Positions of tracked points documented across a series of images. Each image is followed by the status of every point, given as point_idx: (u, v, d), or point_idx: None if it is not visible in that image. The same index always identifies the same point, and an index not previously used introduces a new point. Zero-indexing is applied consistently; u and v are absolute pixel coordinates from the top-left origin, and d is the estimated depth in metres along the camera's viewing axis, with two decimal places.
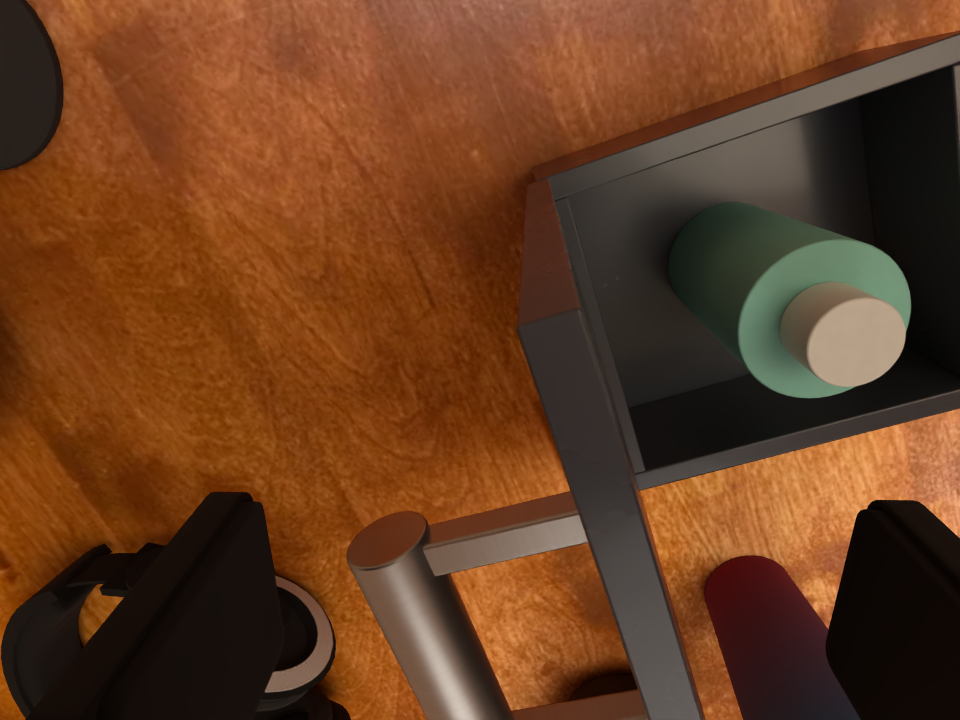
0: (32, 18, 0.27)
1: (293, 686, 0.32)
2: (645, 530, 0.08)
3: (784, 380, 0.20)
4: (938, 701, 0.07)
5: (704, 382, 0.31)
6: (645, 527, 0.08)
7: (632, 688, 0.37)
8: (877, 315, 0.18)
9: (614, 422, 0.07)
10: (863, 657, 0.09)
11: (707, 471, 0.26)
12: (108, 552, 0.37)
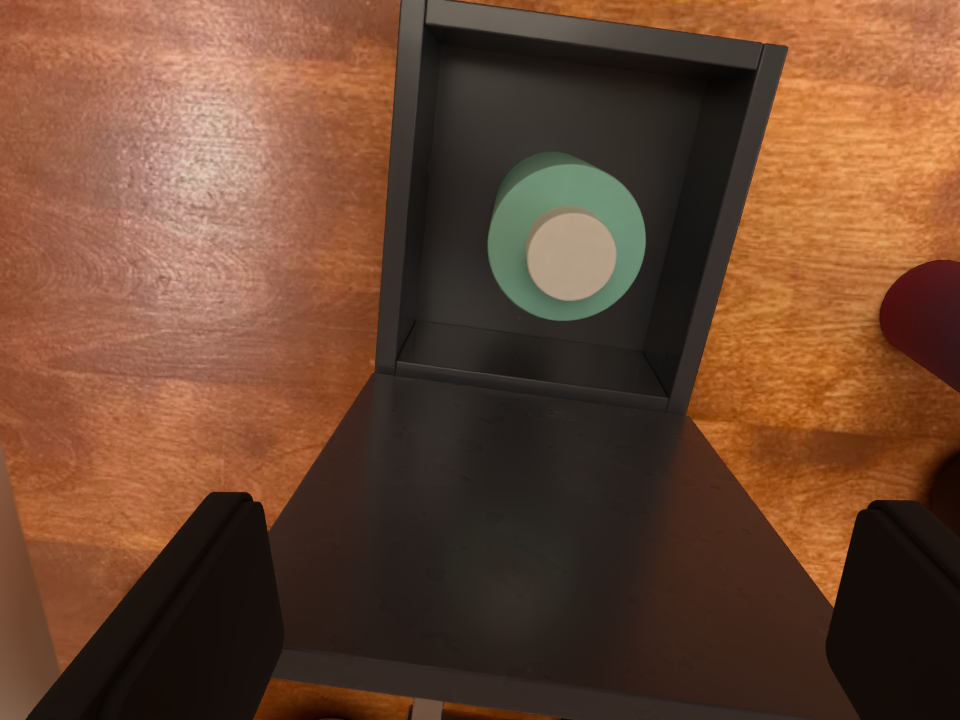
0: None
1: None
2: (368, 659, 0.11)
3: (604, 295, 0.21)
4: (938, 701, 0.07)
5: (656, 270, 0.31)
6: (366, 658, 0.11)
7: (959, 473, 0.33)
8: (552, 234, 0.19)
9: None
10: (863, 657, 0.09)
11: (701, 348, 0.26)
12: None
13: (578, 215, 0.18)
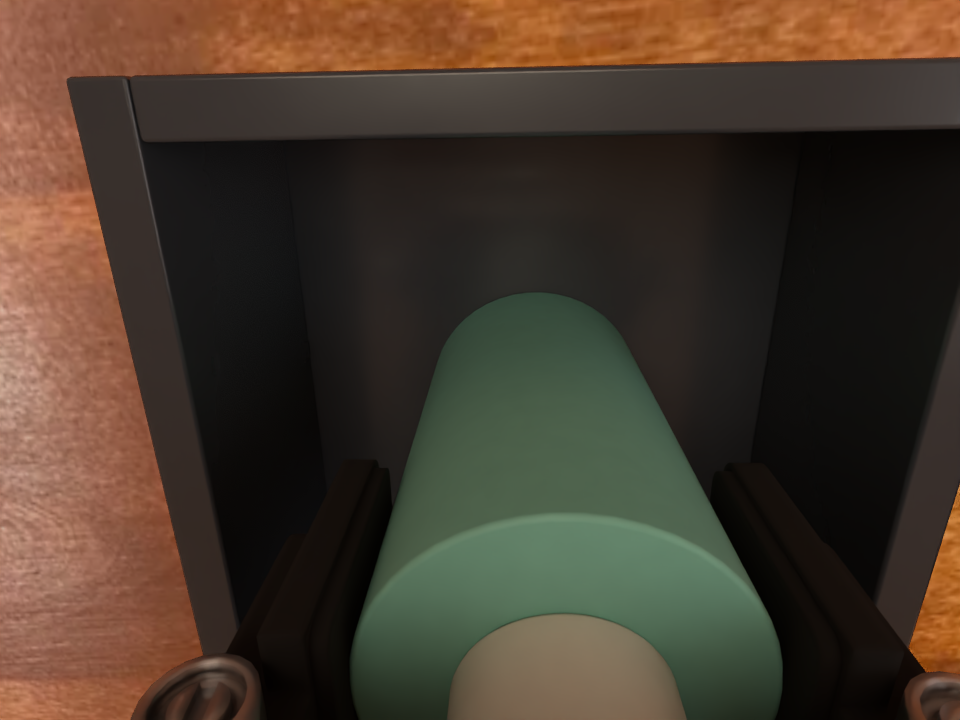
0: None
1: None
2: None
3: None
4: None
5: (740, 462, 0.17)
6: None
7: None
8: None
9: None
10: None
11: None
12: None
13: None
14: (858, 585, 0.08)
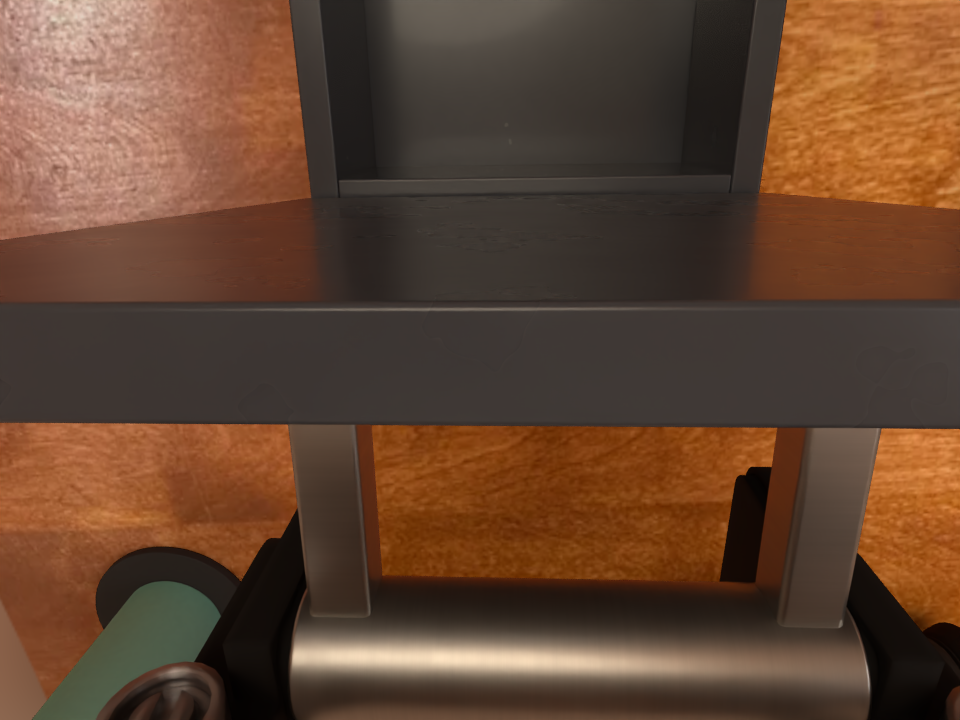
0: (150, 552, 0.33)
1: None
2: (2, 307, 0.04)
3: None
4: None
5: (685, 39, 0.22)
6: (0, 304, 0.04)
7: None
8: None
9: None
10: None
11: (771, 84, 0.17)
12: None
13: None
14: (888, 592, 0.08)
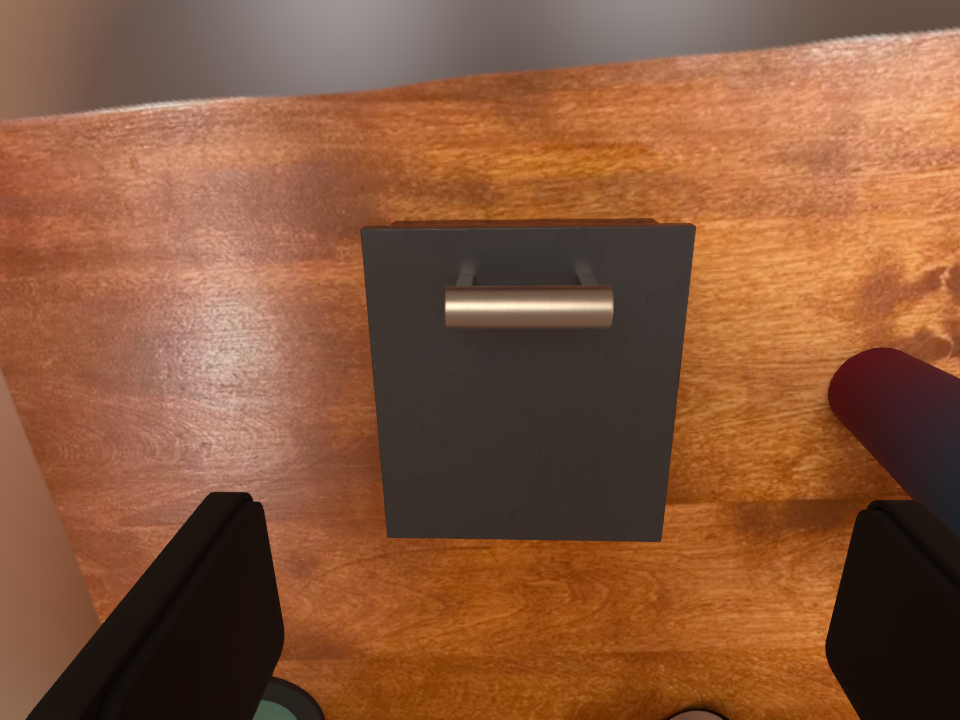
0: None
1: None
2: None
3: None
4: (938, 701, 0.07)
5: None
6: (437, 226, 0.26)
7: None
8: None
9: (400, 226, 0.26)
10: (863, 658, 0.09)
11: None
12: None
13: None
14: None
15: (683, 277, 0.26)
